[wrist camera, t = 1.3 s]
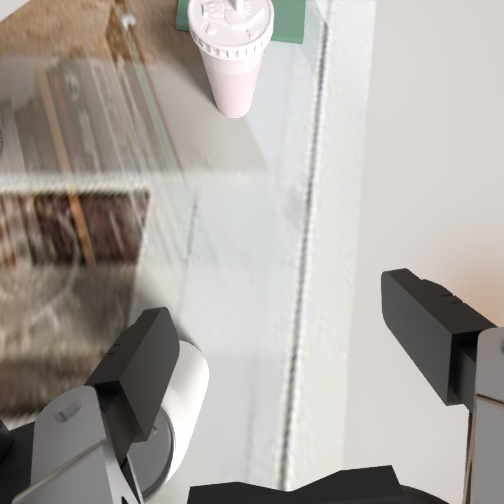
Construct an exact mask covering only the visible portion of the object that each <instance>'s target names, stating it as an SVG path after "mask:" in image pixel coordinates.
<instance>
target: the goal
mask: <svg viewBox="0 0 504 504" xmlns="http://www.w3.org/2000/svg"><path fill="white" fill-rule="evenodd" d="M271 2H272V4H273V8H274V21H273V22H274V23H273V33H272V36H271V39H270V40H274V41H283V42H291V43H300V44H302V42H303V36H304V19H305V2H306V0H271ZM188 3H189V0H178V7H177V15H176V22H175V26H176V30H185V31H190V29H189V24H188V22H189V20H188V12H187V11H188Z"/></svg>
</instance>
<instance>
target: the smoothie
mask: <svg viewBox="0 0 504 504" xmlns="http://www.w3.org/2000/svg"><path fill="white" fill-rule="evenodd" d="M187 12H188V20H189V22H188V24H189V29H190V34H191V36H192V38H193V40H194V42H195V43H196V44H197V45H198V46H199V49H200V53H201V56H202V59H203V62H204V65H205V69H206V72H207V75H208V78H209V82H210V85H211V88H212V92H213V95H214V98H215V101H216V105H217V108H218V110H219V111H220V112H221V113H222V114H223V115H225V116H227V117H230V118H238V117H241V116H243V115H245V114H246V113H247V112H248V110H249V109H250V106H251V102H252V98H253V94H254V90H255V86H256V81H257V77H258V73H259V69H260V65H261V61H262V57H263V54H264V50H265V47H266V45H267V44H268V43H269V41H270V39H271V36H272V33H273V23H274V22H273V21H274V8H273V4H272V2H271V0H189V3H188V11H187Z"/></svg>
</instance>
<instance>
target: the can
mask: <svg viewBox="0 0 504 504" xmlns="http://www.w3.org/2000/svg"><path fill="white" fill-rule="evenodd" d="M179 344H180V353H179V357H178V360H177V363H176V366H175V368H174V371H173V374H172V376H171V379H170V382H169V384H168V387H167V390H166V393H165V395H164V398H163V401H162V403H161V406H160V409H159V411H158V414H157V417H156V420H155V422H154V425H153V428H152V430H151V433H150V436H149V438H148V441H145V442H137V443H131V446H130V448H129V450H128V455H129V457H130V459H131V462H132V465H133V469H134V472H135V475H136V479H137V482H138V485H139V489H140V492H141V495H142V499H143V502H144V504H145V503H146V502H148V501H149V500H150V499H151V498H152V497H154V496H155V495H156V494H157V492H158V491H159V490H160V489H161V488H162V486H163V485H164V483H166V482H167V481H168V480H169V479H170V478H171V476H172V475H173V474H174V473H175V471H176V470H177V468H178V467H179V465H180V463H181V461H182V459H183V457H184V455H185V453H186V450H187V447H188V445H189V442H190V439H191V436H192V433H193V430H194V427H195V424H196V421H197V418H198V415H199V412H200V408H201V405H202V402H203V399H204V396H205V393H206V389H207V386H208V380H209V370H208V365H207V362H206V360H205V358H204V356H203V355H202V353H201V352H200V351H199V350H198V349H197V348H196V347H195V346H193V345H192V344H190V343H188V342H185V341H181V340H179Z"/></svg>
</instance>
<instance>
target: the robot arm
mask: <svg viewBox="0 0 504 504" xmlns="http://www.w3.org/2000/svg"><path fill="white" fill-rule="evenodd" d="M1 144H2V139H1V132H0V151H1ZM381 293H382V313H383V317H384V320H385V323H386V325H387V327H388V328H389V329H390V331H391V332H392V333H393V335H394V336H395V338H396V339H397V340H398V341H399V343H400V344H401V346H402V347H403V348H404V350H405V351H406V352H407V354H408V355H409V356H410V358H411V359H412V360H413V362H414V363H415V365H416V366H417V367H418V368H419V370H420V371H421V373H422V374H423V375H424V377H425V378H426V379H427V381H428V382H429V383H430V384H431V386H432V387H433V389H434V390H435V392H436V393H437V394H438V396H439V397H440V398H441V400H442V401H443V402H444V404H445V405H446V406H450V405H458V404H464V405H465V406H466V407H467V409H468V410H469V418H468V433H467V448H466V462H465V477H464V478H465V479H464V491H463V502H462V504H504V327H497V326H496V325H494V324H493V323H492V322H490V321H489V320H488V319H486V318H485V317H484V316H482V315H481V314H480V313H478V312H477V311H475V310H474V309H473V308H471V307H470V306H469V305H467V304H466V303H463V302H462V300H460V299H459V298H458V297H456V296H453V294H452V293H451V292H449V291H448V290H447V289H446V288H444V287H443V286H441V285H439V284H436V283H434V282H431V281H428V280H426V279H423V280H421V279H419V278H418V277H417V276H416V275H414V274H413V273H412V272H411V271H409V270H408V269H406V268H404V269H397V270H391V271H385V272H383V273H382V275H381ZM179 353H180V344H179V339H178V336H177V334H176V331H175V328H174V325H173V322H172V319H171V316H170V313H169V311H168V309H167V308H166V307H159V308H153V309H147V310H144V311H143V312H142V314H141V315H140V317H139V318H138V320H137V321H136V323H135V324H134V325H131V326H130V327H129V328H128V329H127V330H125V331H124V332H123V333H122V334H121V335H120V336H119V337H118V339H117V340H116V341H115V343H114V344H113V347H111V348H110V350H109V351H108V352H107V356H105V357H104V358H103V359H102V361H101V362H100V363H99V365H98V366H97V368H96V369H95V370H94V372H93V373H92V374H91V376H90V377H89V379H88V380H87V381H86V383H85V384H84V385H83V386H80V387H76V388H73V389H71V390H69V391H67V392H65V393H63V394H61V395H60V396H58V397H57V398H55V399H54V400H53V401H52V402H50V403H49V404H48V405H47V406H46V407H45V408H44V409H43V410H42V412H41V413H40V414H39V416H38V417H37V419H36V421H34V422H31V423H29V424H26V425H24V426H21V427H18V428H16V429H13V430H11V431H9V430H8V429H7V427H6V426H5V425H4V423H3V422H2V421H1V420H0V504H144V502H143V499H142V495H141V492H140V489H139V485H138V482H137V479H136V475H135V472H134V469H133V465H132V462H131V459H130V457H129V455H128V450H129V448H130V446H131V443H137V442H145V441H148V438H149V436H150V433H151V430H152V428H153V425H154V422H155V420H156V417H157V414H158V411H159V409H160V406H161V403H162V401H163V398H164V395H165V393H166V390H167V387H168V384H169V382H170V379H171V376H172V374H173V371H174V368H175V366H176V363H177V360H178V357H179ZM187 504H449V503H447V502H445V501H444V500H442V499H440V498H438V497H436V496H433V495H431V494H429V493H427V492H424V491H421V490H418V489H415V488H412V487H409V486H404V485H400V484H399V482H398V479H397V477H396V474H395V472H394V470H393V468H392V465H388V466H378V467H369V468H361V469H351V470H341V471H338V472H336V473H333V474H331V475H329V476H326V477H324V478H322V479H319V480H317V481H315V482H313V483H310V484H308V485H306V486H303V487H301V488H299V489H296V490H294V491H289V492H286V491H280V490H275V489H271V488H266V487H261V486H256V485H251V484H246V483H242V482H230V483H220V484H211V485H202V486H192V487H190V490H189V496H188V501H187Z"/></svg>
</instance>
